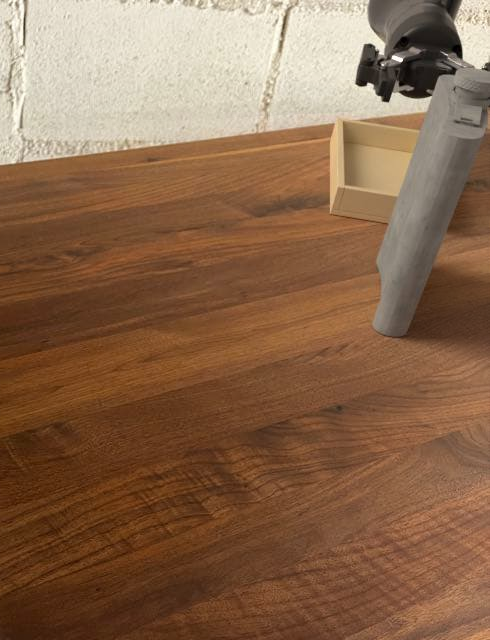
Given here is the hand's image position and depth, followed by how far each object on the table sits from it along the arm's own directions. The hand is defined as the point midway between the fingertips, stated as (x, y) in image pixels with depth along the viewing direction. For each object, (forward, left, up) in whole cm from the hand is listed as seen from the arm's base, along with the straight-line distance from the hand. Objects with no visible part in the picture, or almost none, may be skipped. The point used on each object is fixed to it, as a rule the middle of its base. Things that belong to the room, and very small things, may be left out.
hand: (433, 98), depth 85 cm
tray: (0, -13, -14) cm, 19 cm away
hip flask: (0, +14, -14) cm, 20 cm away
